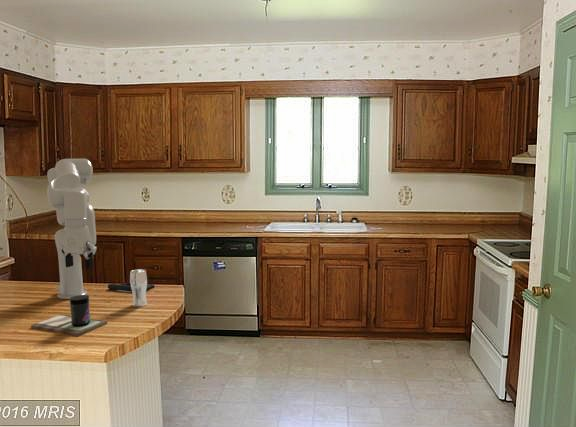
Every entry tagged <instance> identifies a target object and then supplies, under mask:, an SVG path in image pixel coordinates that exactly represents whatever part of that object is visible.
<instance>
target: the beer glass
mask: <svg viewBox="0 0 576 427" xmlns="http://www.w3.org/2000/svg"><path fill="white" fill-rule="evenodd" d="M129 273H130V274H129V283H130V284H131V289H132V293H131V294H132V298H133V299H132V306H133V307H138V308H139V307H140V308H141V307H144V306H147V304H148V301H147V296H146V295H147V291H146V288H147V285H148V276H147V269H145V268H143V269H142V268H140V269H139V268H138V269H132V270H131V271H129Z"/></svg>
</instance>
